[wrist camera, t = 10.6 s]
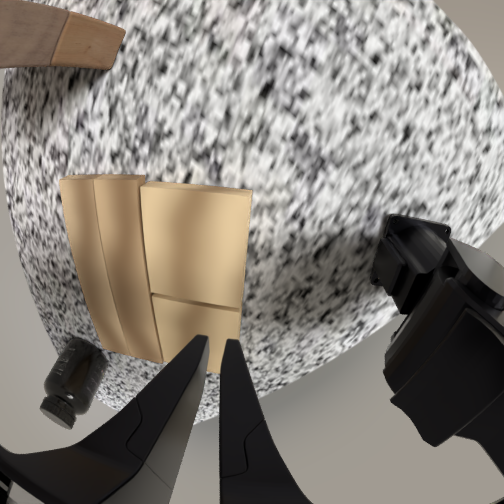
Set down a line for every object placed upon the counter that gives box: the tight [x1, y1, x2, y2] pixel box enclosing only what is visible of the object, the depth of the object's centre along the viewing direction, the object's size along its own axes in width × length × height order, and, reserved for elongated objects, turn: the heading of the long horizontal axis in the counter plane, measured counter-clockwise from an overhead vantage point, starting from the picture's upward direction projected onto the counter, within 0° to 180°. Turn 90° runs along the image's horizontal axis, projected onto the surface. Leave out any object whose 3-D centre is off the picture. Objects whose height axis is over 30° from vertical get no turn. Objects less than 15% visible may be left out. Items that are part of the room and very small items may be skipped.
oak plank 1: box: [140, 181, 252, 308], centre depth 21 cm, size 8×10×2 cm
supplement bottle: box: [40, 338, 108, 429], centre depth 27 cm, size 7×7×12 cm
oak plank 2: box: [152, 293, 242, 374], centre depth 26 cm, size 8×10×2 cm
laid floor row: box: [59, 174, 164, 364], centre depth 24 cm, size 8×20×2 cm, turn 175°
